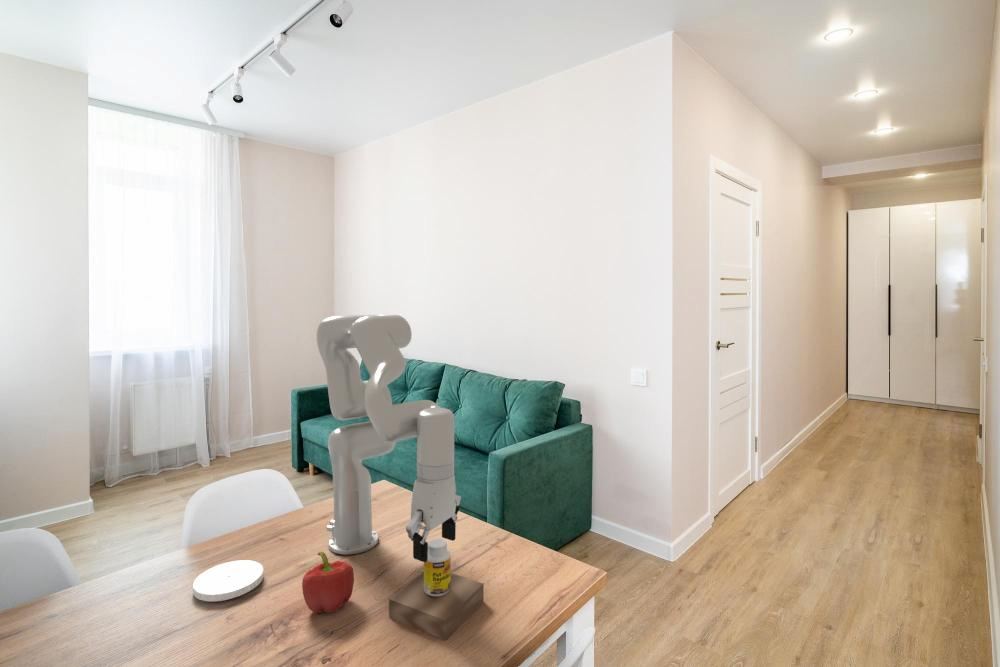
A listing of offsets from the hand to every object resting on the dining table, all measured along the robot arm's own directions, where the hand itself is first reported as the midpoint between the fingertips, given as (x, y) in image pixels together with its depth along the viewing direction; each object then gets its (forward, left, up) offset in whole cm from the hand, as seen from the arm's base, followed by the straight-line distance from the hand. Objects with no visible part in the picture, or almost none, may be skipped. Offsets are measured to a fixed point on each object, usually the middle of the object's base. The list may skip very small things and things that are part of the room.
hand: (435, 548), depth 105 cm
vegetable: (-20, -10, -13) cm, 26 cm away
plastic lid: (-45, -16, -13) cm, 50 cm away
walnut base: (+1, 0, -13) cm, 13 cm away
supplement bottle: (0, 0, -9) cm, 9 cm away
